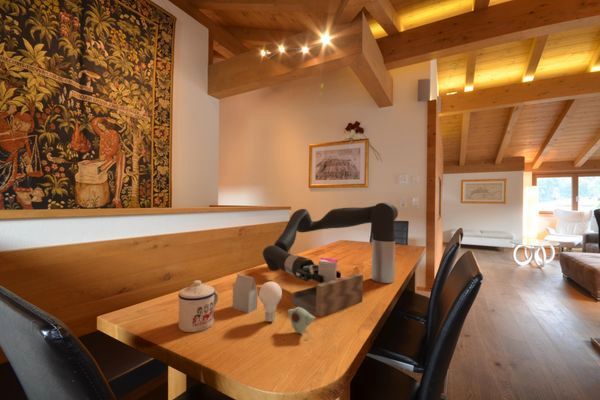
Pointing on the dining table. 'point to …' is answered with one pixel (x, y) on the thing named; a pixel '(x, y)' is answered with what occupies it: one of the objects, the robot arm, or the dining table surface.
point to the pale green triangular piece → (300, 319)
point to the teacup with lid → (196, 307)
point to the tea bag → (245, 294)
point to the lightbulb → (270, 299)
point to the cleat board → (330, 295)
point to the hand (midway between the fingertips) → (331, 277)
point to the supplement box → (327, 269)
